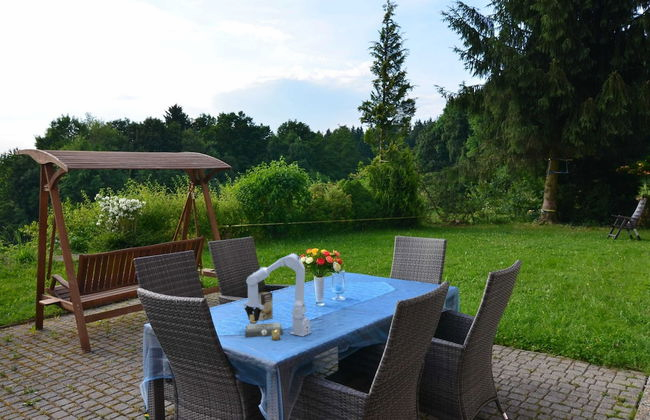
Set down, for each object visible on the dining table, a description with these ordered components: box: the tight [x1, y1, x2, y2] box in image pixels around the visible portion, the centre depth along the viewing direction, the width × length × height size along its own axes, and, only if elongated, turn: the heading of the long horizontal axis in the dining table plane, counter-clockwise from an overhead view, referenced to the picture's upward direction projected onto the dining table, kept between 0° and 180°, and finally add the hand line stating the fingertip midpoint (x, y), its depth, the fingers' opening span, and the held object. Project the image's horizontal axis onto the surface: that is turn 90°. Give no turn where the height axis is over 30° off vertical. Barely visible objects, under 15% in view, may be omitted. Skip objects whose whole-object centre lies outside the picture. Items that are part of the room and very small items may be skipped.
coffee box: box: [258, 291, 274, 322], centre depth 295 cm, size 9×6×16 cm
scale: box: [245, 322, 284, 338], centre depth 265 cm, size 14×20×4 cm
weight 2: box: [271, 329, 281, 342], centre depth 253 cm, size 4×4×5 cm
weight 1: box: [249, 312, 259, 325], centre depth 266 cm, size 4×4×5 cm
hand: (253, 320), depth 266 cm, fingers closed on weight 1, 4 cm apart
